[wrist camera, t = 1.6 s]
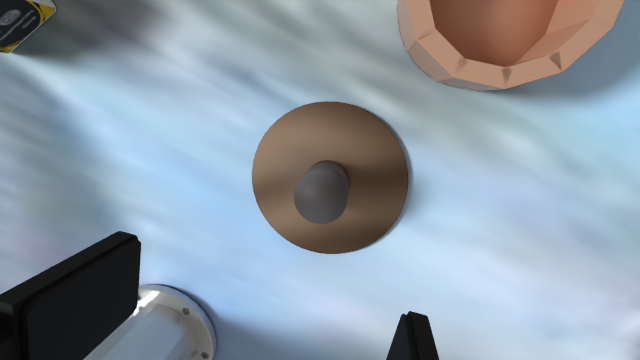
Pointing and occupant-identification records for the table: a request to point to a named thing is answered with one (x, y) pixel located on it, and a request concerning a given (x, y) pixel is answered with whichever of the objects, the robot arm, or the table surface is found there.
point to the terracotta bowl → (500, 38)
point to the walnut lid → (330, 177)
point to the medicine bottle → (21, 20)
